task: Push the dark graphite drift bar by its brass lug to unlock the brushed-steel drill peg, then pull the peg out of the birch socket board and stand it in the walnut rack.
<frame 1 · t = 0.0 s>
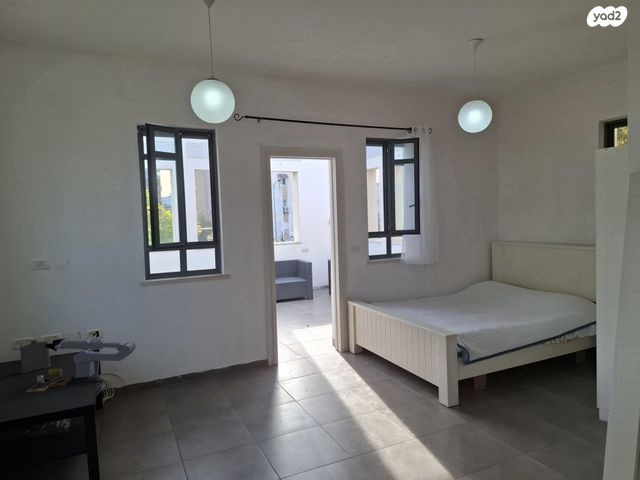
hand: (49, 343, 264), 22 cm above the table, tool horizontal, fingers open, 7 cm apart
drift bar: (46, 378, 255), point 4 cm above the table, slide at 0.0 cm
socket board: (41, 388, 249), on the table
steel drill peg: (41, 387, 249), point 1 cm above the table, touching socket board
walnut rack: (60, 384, 253), on the table
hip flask: (36, 369, 284), on the table
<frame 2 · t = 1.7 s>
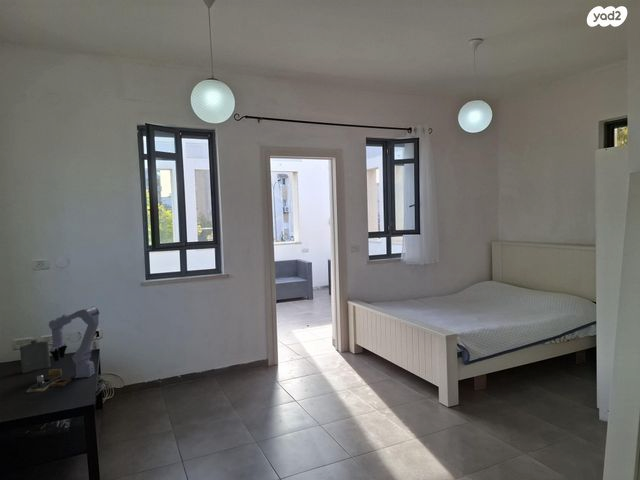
hand: (59, 359, 269), 10 cm above the table, tool pointing down, fingers open, 6 cm apart
nothing on the table moved.
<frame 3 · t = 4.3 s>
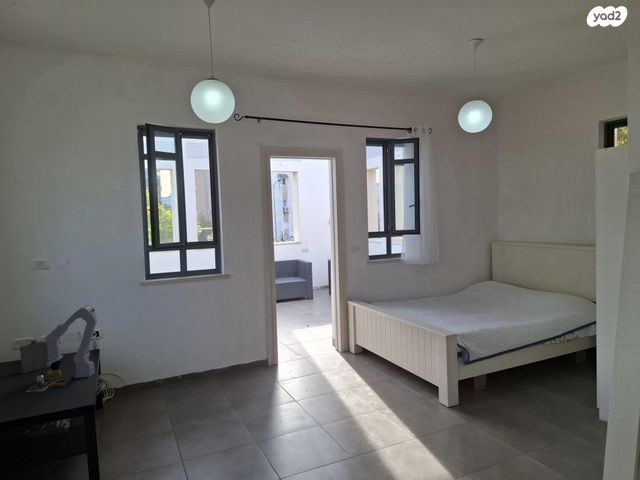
hand: (55, 373, 265), 3 cm above the table, tool pointing down, fingers closed
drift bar: (45, 379, 253), point 4 cm above the table, slide at 1.3 cm, touching gripper
everything else where it was.
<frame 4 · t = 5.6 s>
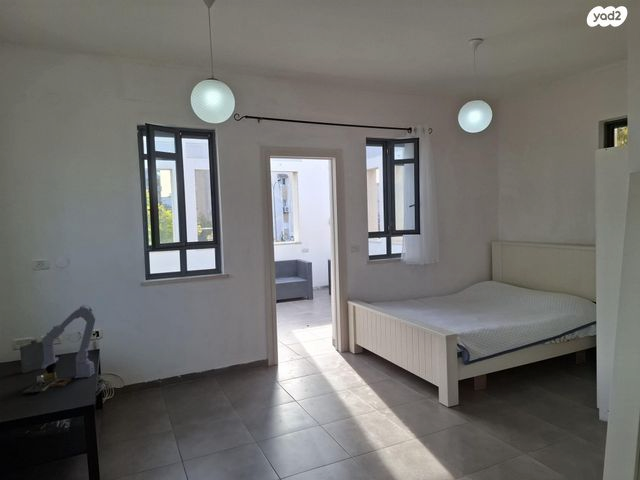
hand: (51, 376, 260), 3 cm above the table, tool pointing down, fingers closed
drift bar: (40, 382, 249), point 4 cm above the table, slide at 6.1 cm, touching gripper
everything else where it was.
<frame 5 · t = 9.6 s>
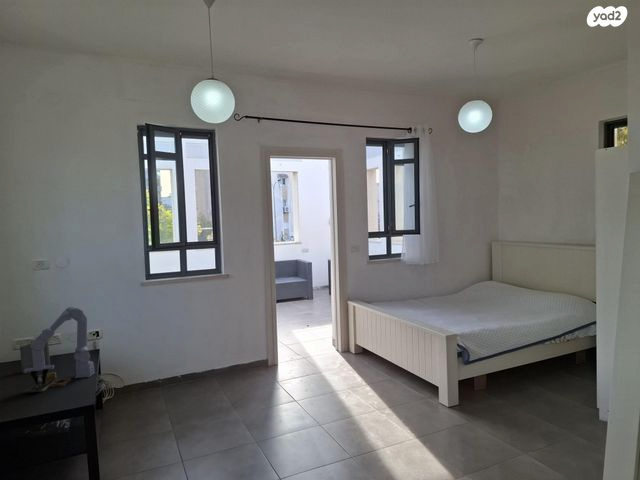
hand: (40, 382, 249), 3 cm above the table, tool pointing down, fingers closed on steel drill peg, 3 cm apart
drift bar: (40, 382, 249), point 4 cm above the table, slide at 6.0 cm
steel drill peg: (41, 387, 249), point 1 cm above the table, touching gripper, socket board
everything else where it was.
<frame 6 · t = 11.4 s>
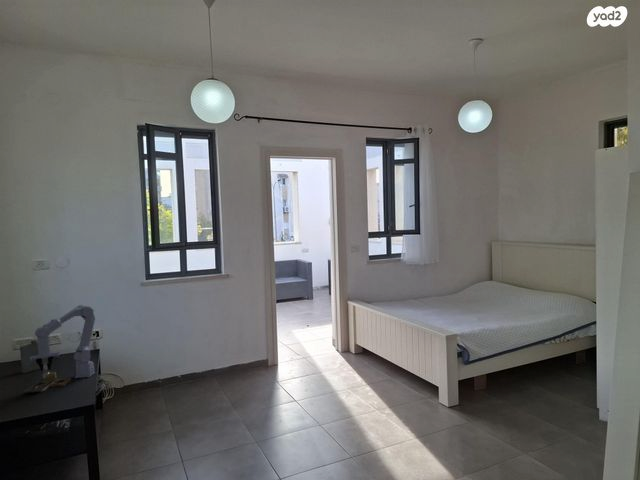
hand: (46, 370, 250), 10 cm above the table, tool pointing down, fingers closed on steel drill peg, 3 cm apart
steel drill peg: (46, 374, 250), point 7 cm above the table, touching gripper
everything else where it was.
when the fingers open (4 cm above the table, at t = 13.3 s): steel drill peg stays where it is, resting on walnut rack.
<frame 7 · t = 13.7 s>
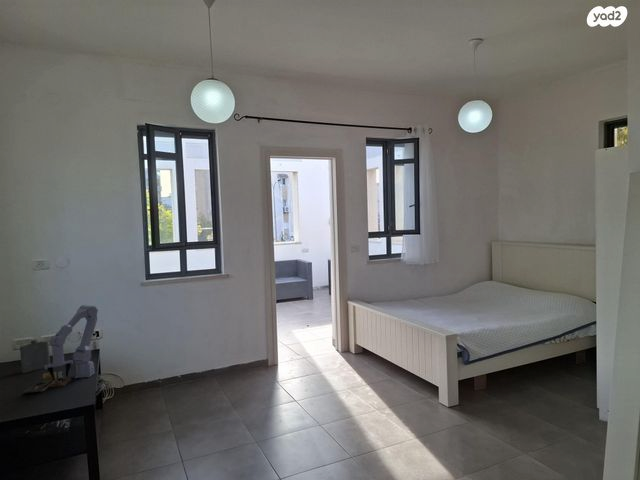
hand: (60, 378, 253), 4 cm above the table, tool pointing down, fingers open, 6 cm apart
steel drill peg: (60, 383, 253), point 1 cm above the table, touching walnut rack
everything else where it was.
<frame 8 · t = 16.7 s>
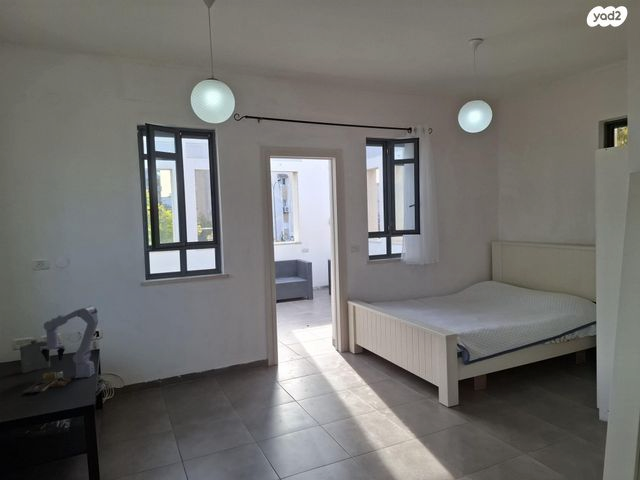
hand: (54, 360, 267), 10 cm above the table, tool pointing down, fingers open, 7 cm apart
nothing on the table moved.
at the end: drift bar slide at 6.0 cm; steel drill peg 0.0 cm off-centre on the walnut rack, point 0.6 cm above the walnut rack's base; steel drill peg tilted 1° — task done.
